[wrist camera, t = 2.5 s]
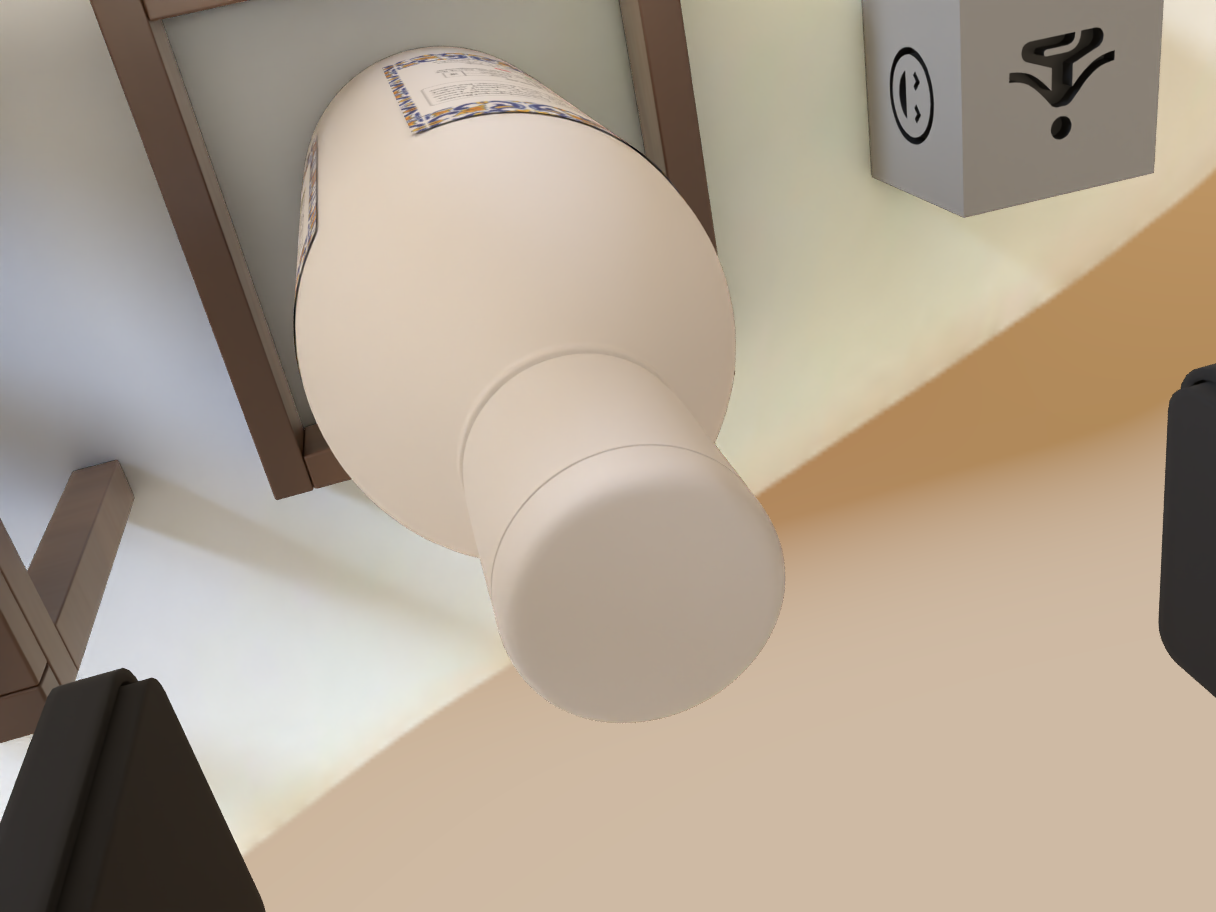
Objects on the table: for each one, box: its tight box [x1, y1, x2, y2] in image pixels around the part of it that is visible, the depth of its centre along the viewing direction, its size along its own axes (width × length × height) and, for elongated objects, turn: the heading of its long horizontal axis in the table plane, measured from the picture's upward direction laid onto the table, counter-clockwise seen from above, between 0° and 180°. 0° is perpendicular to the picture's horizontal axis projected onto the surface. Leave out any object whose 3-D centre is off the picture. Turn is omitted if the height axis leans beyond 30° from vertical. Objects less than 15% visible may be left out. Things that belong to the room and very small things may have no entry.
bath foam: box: [294, 46, 785, 723], centre depth 20 cm, size 7×7×20 cm
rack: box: [0, 0, 735, 743], centre depth 23 cm, size 28×12×10 cm, turn 102°
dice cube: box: [862, 0, 1164, 218], centre depth 28 cm, size 5×5×5 cm
